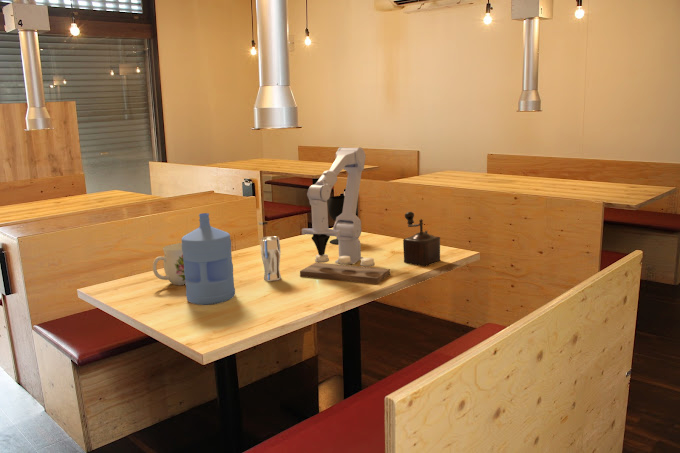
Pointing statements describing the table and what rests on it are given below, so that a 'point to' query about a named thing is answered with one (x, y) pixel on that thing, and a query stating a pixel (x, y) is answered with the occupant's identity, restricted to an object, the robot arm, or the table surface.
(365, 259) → the knob
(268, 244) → the beer glass
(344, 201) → the robot arm
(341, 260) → the knob
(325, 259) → the knob
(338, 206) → the wine glass
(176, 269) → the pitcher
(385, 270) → the wooden board with recesses
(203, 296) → the water jug
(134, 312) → the table surface
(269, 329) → the table surface
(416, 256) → the manual coffee grinder
